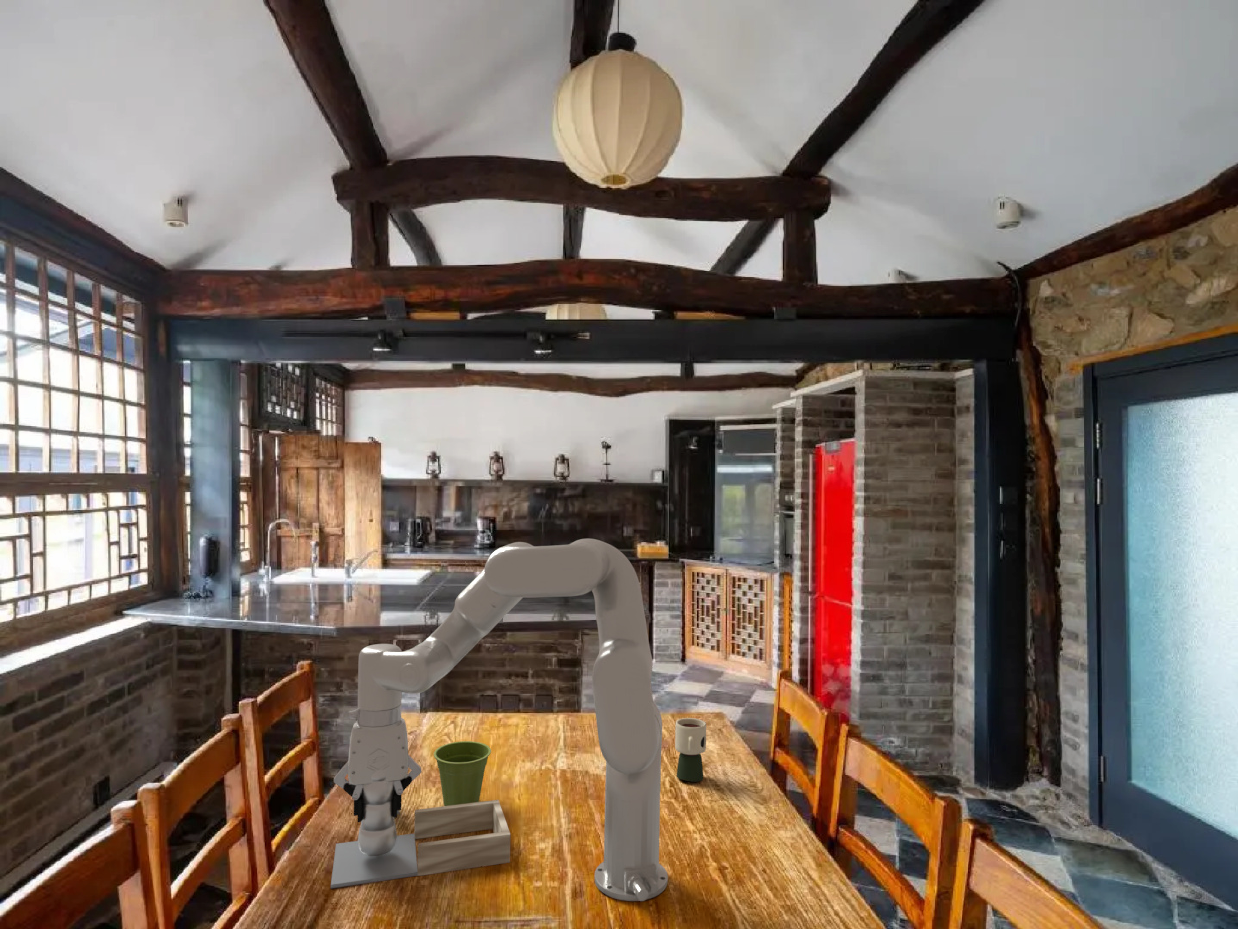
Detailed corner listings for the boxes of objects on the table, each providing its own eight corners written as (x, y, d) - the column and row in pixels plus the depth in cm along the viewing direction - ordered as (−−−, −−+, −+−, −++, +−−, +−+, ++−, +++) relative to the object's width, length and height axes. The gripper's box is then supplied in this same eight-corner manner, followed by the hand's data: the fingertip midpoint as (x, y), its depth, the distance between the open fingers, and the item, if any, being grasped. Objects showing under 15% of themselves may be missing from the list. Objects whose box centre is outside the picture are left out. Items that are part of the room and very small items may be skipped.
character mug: (706, 790, 160) (707, 731, 161) (674, 788, 161) (675, 730, 161) (704, 770, 171) (705, 715, 172) (674, 769, 172) (675, 714, 172)
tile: (417, 875, 124) (417, 872, 124) (330, 888, 120) (330, 885, 120) (414, 836, 137) (414, 833, 137) (336, 847, 133) (336, 843, 133)
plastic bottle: (384, 863, 125) (387, 747, 125) (349, 858, 126) (352, 744, 127) (403, 845, 131) (405, 735, 131) (369, 840, 132) (371, 732, 133)
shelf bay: (509, 862, 129) (510, 834, 129) (417, 876, 124) (418, 847, 124) (497, 825, 143) (498, 799, 143) (414, 836, 138) (414, 810, 138)
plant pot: (420, 812, 147) (422, 757, 148) (453, 789, 159) (454, 738, 159) (470, 823, 143) (471, 766, 144) (500, 798, 154) (501, 745, 155)
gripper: (326, 726, 123) (324, 833, 122) (429, 717, 128) (428, 819, 128) (329, 712, 130) (327, 813, 130) (427, 704, 135) (425, 801, 135)
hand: (377, 815), depth 129 cm, fingers closed on plastic bottle, 5 cm apart
